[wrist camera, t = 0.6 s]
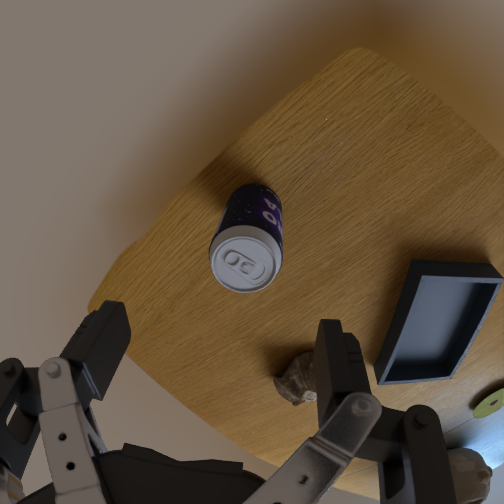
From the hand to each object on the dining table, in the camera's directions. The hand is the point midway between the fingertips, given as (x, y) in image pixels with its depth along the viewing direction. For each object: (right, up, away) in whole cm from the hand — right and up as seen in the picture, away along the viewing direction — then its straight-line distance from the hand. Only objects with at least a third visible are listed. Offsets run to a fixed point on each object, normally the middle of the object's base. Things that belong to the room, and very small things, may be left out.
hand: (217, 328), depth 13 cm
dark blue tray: (+27, -7, +27) cm, 39 cm away
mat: (+55, -29, +38) cm, 73 cm away
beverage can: (+2, +8, +22) cm, 23 cm away
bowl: (+55, -55, +53) cm, 94 cm away
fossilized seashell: (+9, -14, +34) cm, 38 cm away
